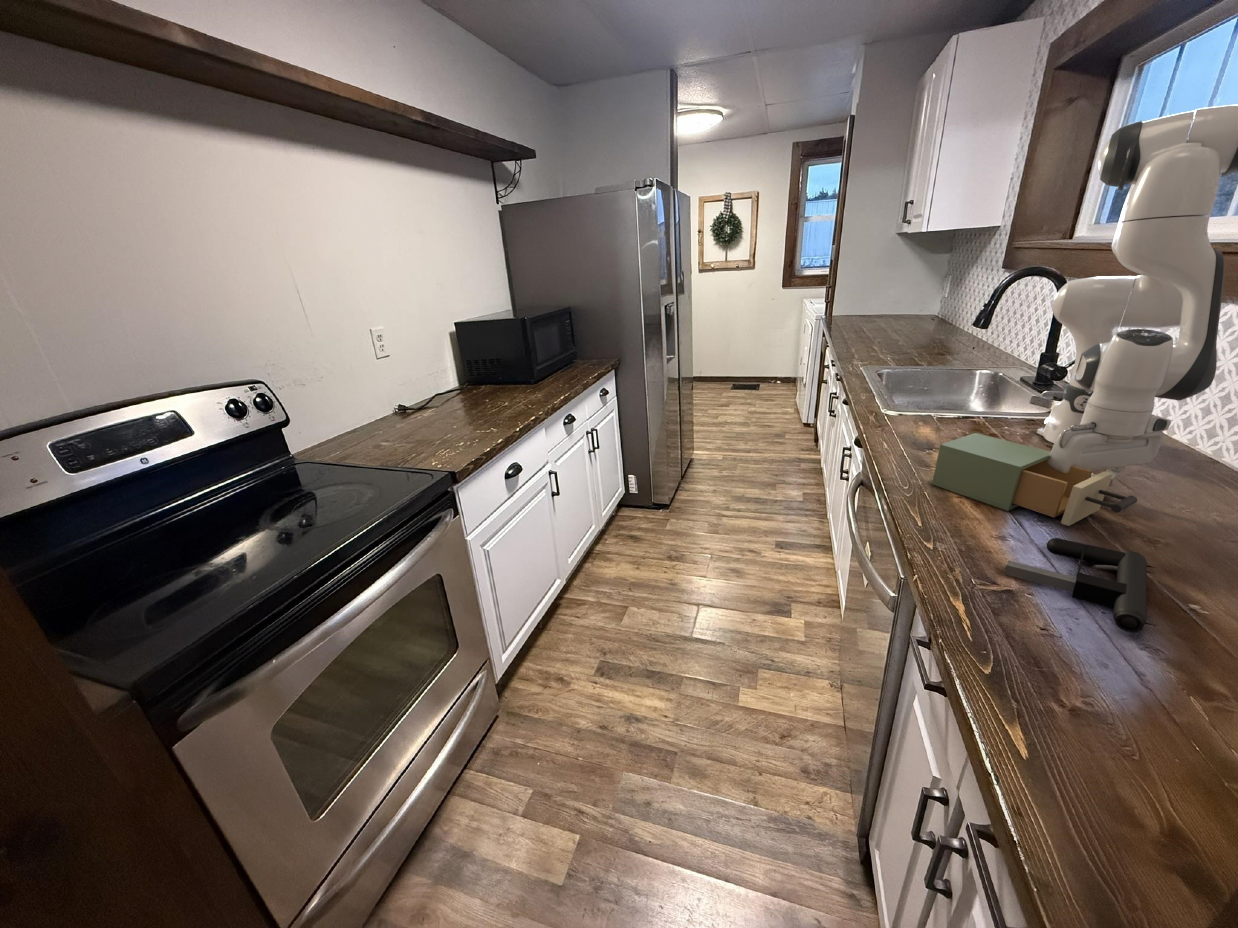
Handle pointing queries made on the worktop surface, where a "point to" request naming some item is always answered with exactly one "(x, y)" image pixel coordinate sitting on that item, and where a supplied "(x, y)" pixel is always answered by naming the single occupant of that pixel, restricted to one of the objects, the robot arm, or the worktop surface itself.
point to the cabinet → (984, 468)
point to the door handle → (1097, 580)
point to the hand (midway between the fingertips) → (1090, 487)
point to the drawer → (1066, 492)
